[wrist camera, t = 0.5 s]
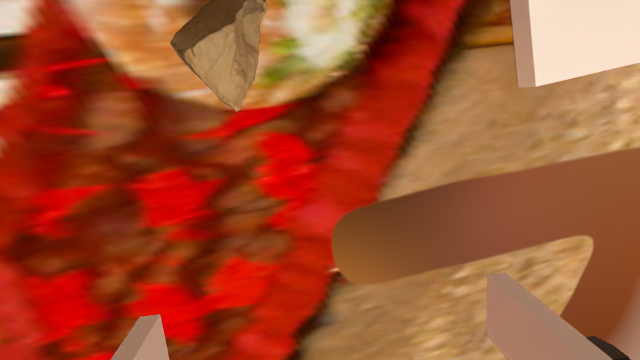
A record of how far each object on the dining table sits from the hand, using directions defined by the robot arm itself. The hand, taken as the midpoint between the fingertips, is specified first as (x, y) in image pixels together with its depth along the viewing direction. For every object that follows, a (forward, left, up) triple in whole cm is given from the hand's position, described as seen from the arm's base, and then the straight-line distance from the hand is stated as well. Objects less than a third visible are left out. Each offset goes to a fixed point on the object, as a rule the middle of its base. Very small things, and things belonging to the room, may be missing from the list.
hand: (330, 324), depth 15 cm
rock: (-15, -3, -27) cm, 31 cm away
